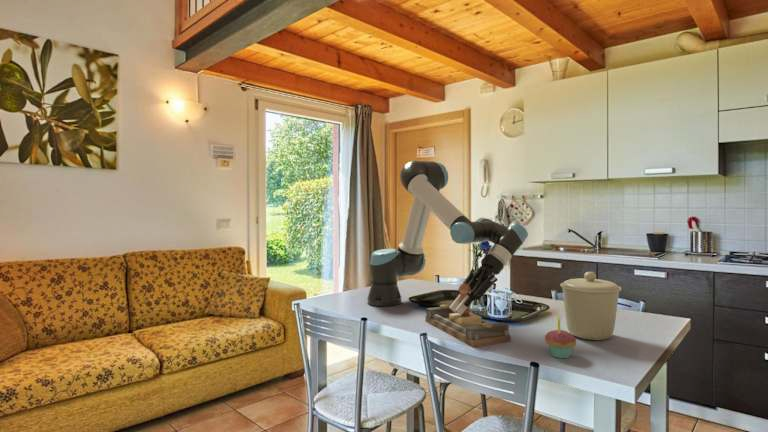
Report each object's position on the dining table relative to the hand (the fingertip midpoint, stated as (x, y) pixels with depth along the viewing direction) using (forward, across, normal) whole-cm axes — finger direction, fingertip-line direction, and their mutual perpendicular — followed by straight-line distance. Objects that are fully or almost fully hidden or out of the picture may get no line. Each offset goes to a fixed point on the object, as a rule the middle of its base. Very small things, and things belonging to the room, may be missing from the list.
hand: (455, 311), depth 149 cm
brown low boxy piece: (+2, 0, -8) cm, 8 cm away
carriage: (+1, 0, -6) cm, 6 cm away
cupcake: (-6, -32, -16) cm, 36 cm away
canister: (-22, -22, -32) cm, 44 cm away
